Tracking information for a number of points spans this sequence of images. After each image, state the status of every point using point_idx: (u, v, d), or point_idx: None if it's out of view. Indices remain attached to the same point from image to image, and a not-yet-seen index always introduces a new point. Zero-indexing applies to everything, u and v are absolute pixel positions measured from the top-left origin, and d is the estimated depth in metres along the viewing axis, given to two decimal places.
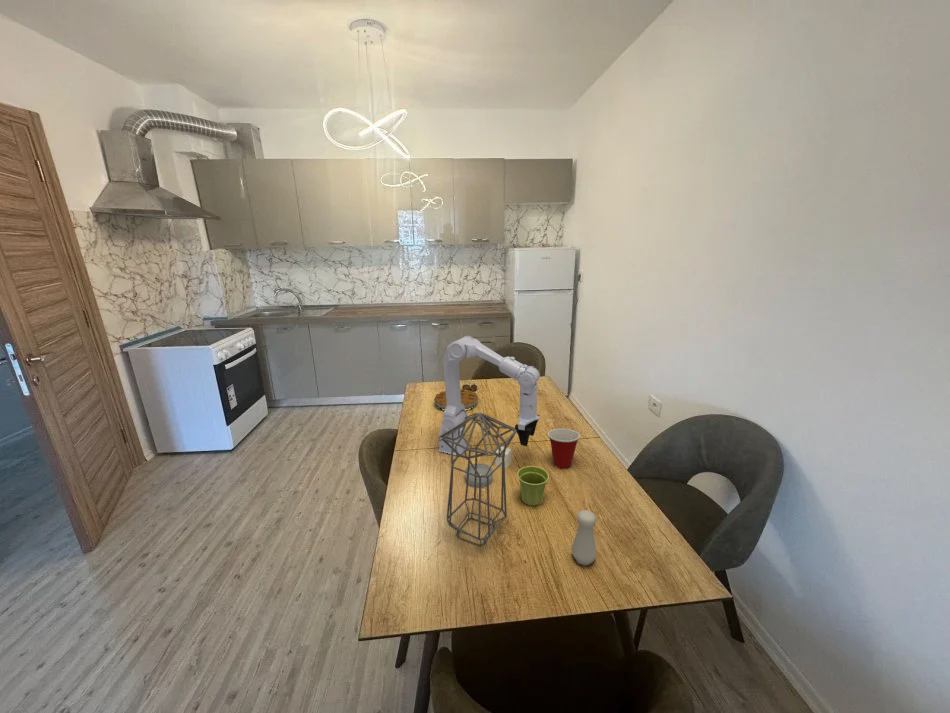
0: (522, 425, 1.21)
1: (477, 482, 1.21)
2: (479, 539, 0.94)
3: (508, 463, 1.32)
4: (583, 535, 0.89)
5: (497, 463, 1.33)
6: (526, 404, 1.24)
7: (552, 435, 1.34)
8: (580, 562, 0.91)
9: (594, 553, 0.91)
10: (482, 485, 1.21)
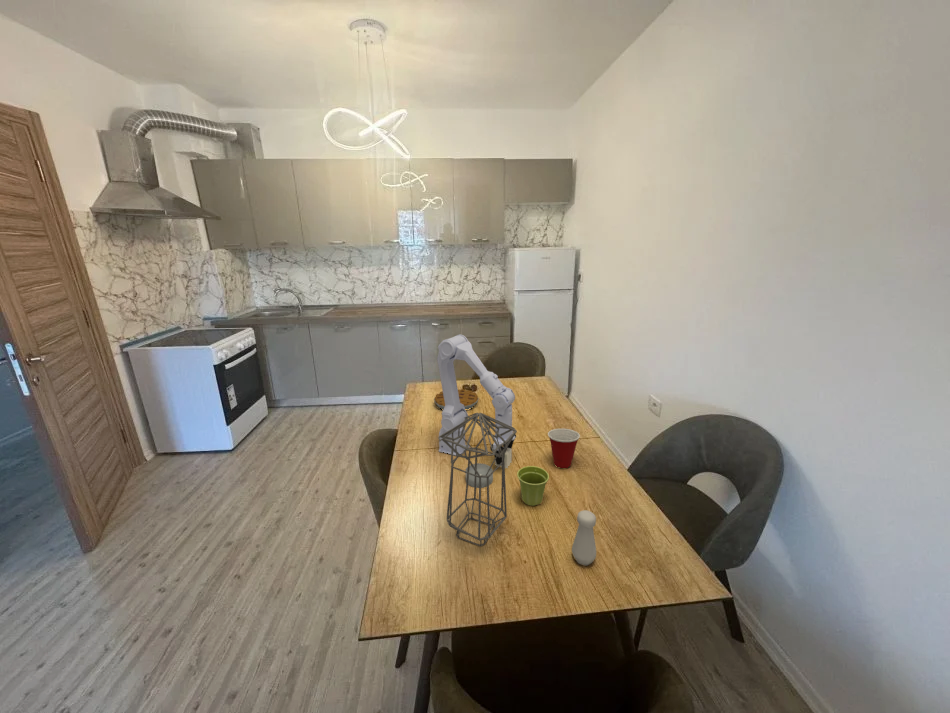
0: None
1: (477, 482, 1.21)
2: (479, 539, 0.94)
3: (508, 463, 1.32)
4: (584, 535, 0.89)
5: None
6: (500, 425, 1.28)
7: (552, 435, 1.34)
8: (580, 562, 0.91)
9: (594, 553, 0.91)
10: (482, 485, 1.21)
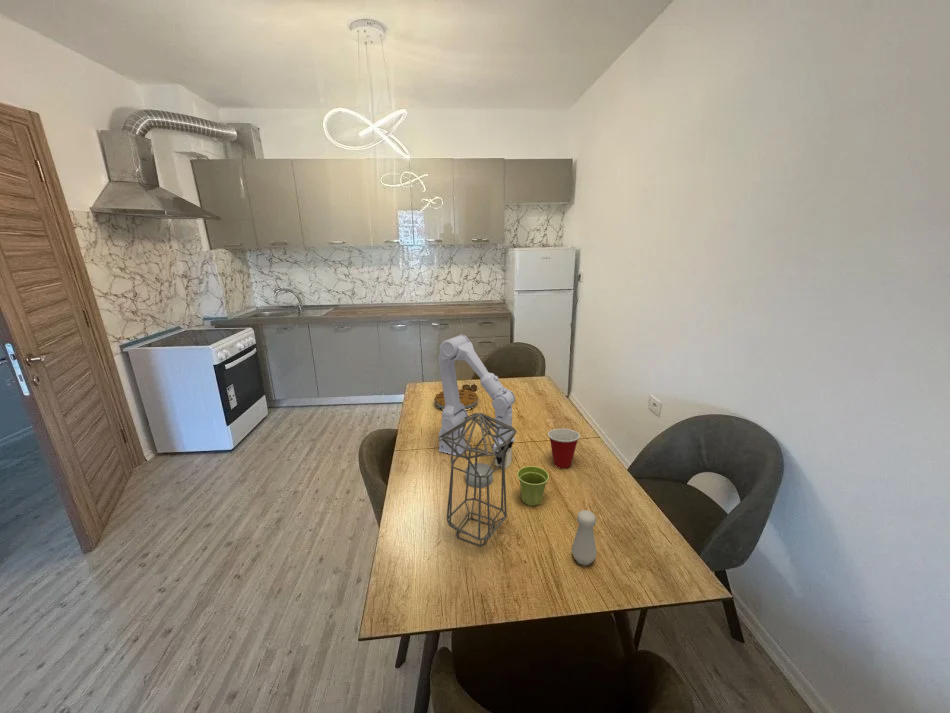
0: None
1: (477, 482, 1.21)
2: (479, 539, 0.94)
3: (508, 463, 1.32)
4: (583, 535, 0.89)
5: (497, 463, 1.33)
6: None
7: (552, 435, 1.34)
8: (580, 562, 0.91)
9: (594, 553, 0.91)
10: (482, 485, 1.21)
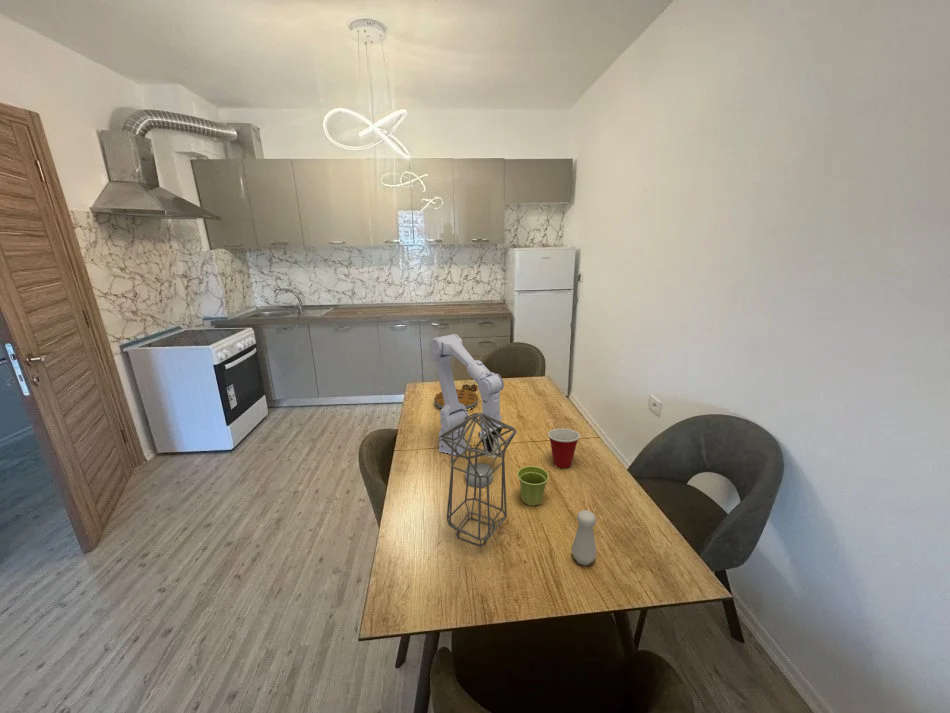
0: None
1: None
2: (479, 539, 0.94)
3: (497, 452, 1.26)
4: (583, 535, 0.89)
5: None
6: (485, 411, 1.22)
7: (552, 435, 1.34)
8: (580, 562, 0.91)
9: (594, 553, 0.91)
10: (484, 484, 1.21)
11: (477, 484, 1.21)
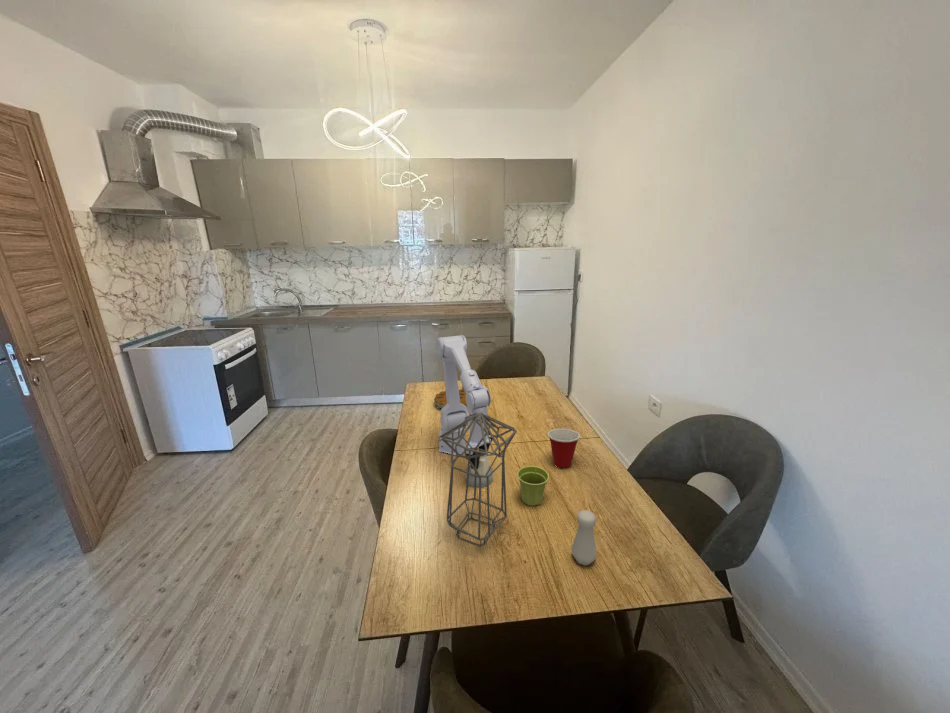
0: None
1: (481, 482, 1.21)
2: (479, 539, 0.94)
3: (485, 470, 1.23)
4: (583, 535, 0.89)
5: (473, 470, 1.23)
6: None
7: (552, 435, 1.34)
8: (580, 562, 0.91)
9: (594, 553, 0.91)
10: (485, 484, 1.22)
11: None
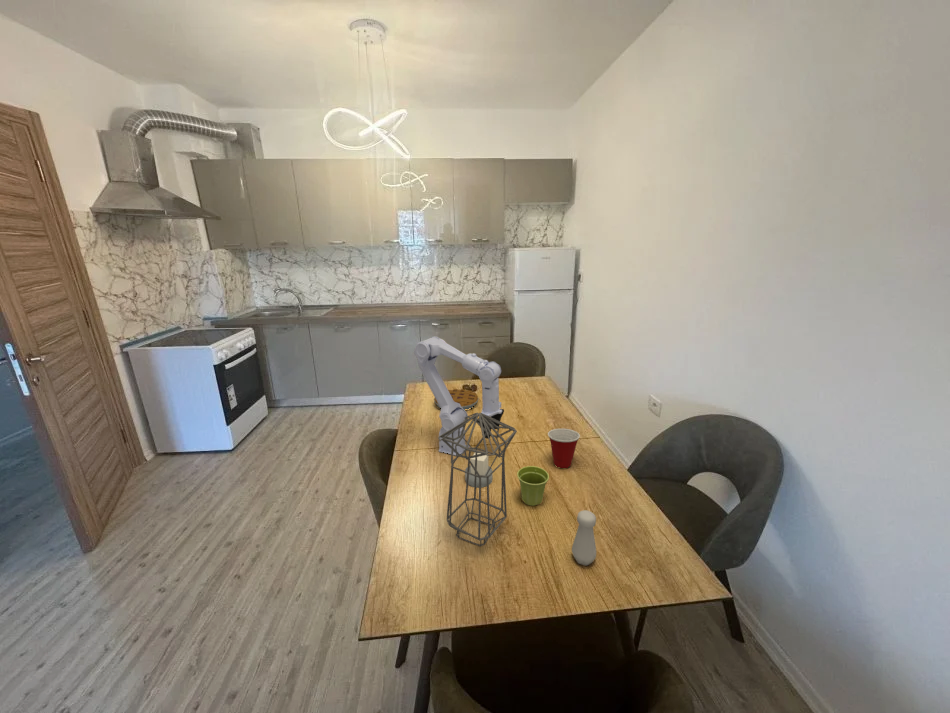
0: None
1: None
2: (479, 539, 0.94)
3: (485, 470, 1.23)
4: (583, 535, 0.89)
5: (473, 471, 1.23)
6: (487, 398, 1.29)
7: (552, 435, 1.34)
8: (580, 562, 0.91)
9: (594, 553, 0.91)
10: (485, 484, 1.22)
11: None
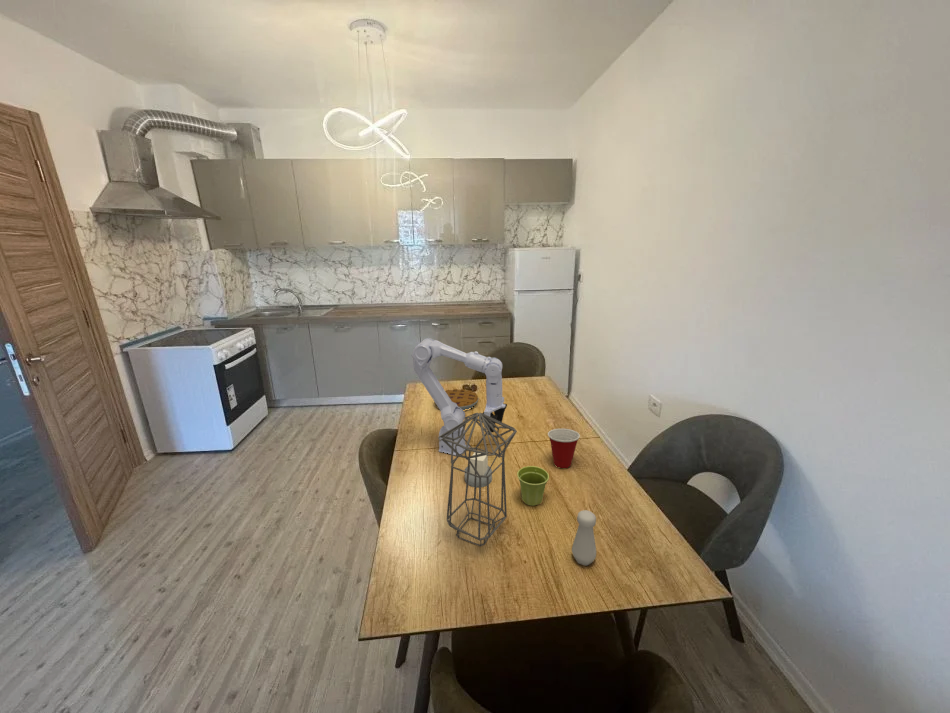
0: (487, 412, 1.30)
1: None
2: (479, 539, 0.94)
3: (484, 470, 1.23)
4: (583, 535, 0.89)
5: (472, 470, 1.23)
6: (494, 393, 1.33)
7: (552, 435, 1.34)
8: (580, 562, 0.91)
9: (594, 553, 0.91)
10: (484, 484, 1.22)
11: (478, 485, 1.21)
